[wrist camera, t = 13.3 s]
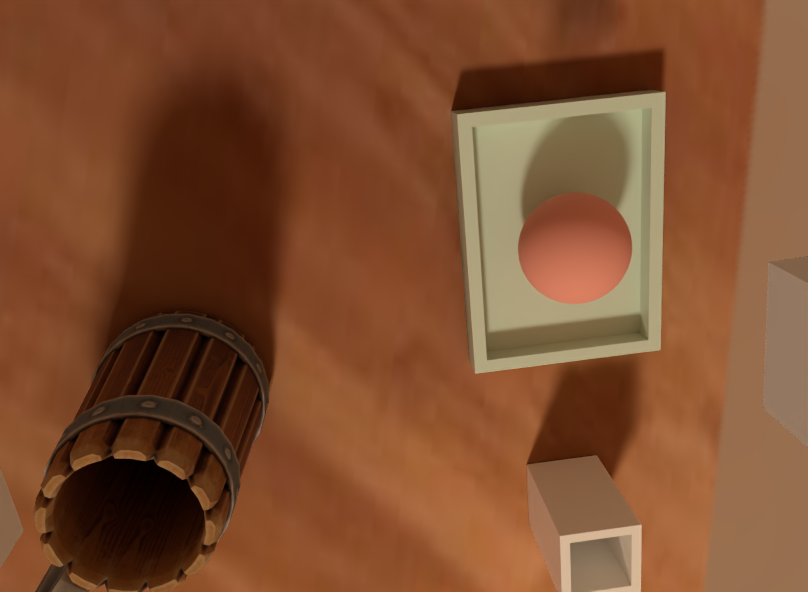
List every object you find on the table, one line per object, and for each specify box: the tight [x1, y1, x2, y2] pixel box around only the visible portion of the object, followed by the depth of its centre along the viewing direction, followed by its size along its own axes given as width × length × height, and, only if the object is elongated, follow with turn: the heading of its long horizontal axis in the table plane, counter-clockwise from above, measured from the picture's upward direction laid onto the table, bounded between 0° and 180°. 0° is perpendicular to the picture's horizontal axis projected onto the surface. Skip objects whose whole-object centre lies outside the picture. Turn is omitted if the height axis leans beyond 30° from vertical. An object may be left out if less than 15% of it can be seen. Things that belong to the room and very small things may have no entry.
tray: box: [451, 90, 666, 374], centre depth 46 cm, size 16×12×2 cm
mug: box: [34, 311, 269, 592], centre depth 41 cm, size 16×11×15 cm
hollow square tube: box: [527, 455, 642, 592], centre depth 49 cm, size 5×5×8 cm
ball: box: [518, 192, 632, 304], centre depth 43 cm, size 6×6×6 cm
